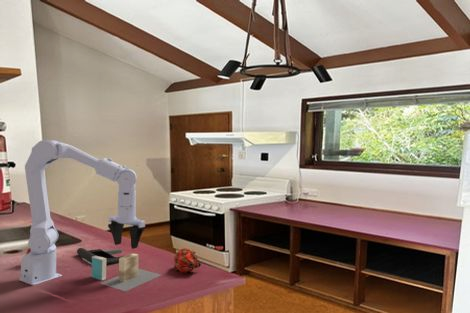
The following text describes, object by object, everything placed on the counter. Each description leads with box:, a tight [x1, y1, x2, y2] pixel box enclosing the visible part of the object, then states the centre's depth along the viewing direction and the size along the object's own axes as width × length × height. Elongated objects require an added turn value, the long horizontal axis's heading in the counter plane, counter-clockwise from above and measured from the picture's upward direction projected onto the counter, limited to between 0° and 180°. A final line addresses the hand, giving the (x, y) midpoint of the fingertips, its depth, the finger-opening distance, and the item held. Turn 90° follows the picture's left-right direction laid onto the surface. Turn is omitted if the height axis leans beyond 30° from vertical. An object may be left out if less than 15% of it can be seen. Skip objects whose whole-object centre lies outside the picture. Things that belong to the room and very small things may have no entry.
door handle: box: [76, 247, 125, 267], centre depth 135 cm, size 3×20×16 cm
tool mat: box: [99, 268, 162, 293], centre depth 114 cm, size 16×11×1 cm
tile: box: [91, 256, 107, 281], centre depth 114 cm, size 2×5×7 cm, turn 61°
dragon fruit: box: [173, 247, 202, 275], centre depth 123 cm, size 8×8×12 cm
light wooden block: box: [118, 253, 139, 282], centre depth 114 cm, size 6×2×7 cm, turn 151°
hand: (126, 246), depth 119 cm, fingers open, 7 cm apart
